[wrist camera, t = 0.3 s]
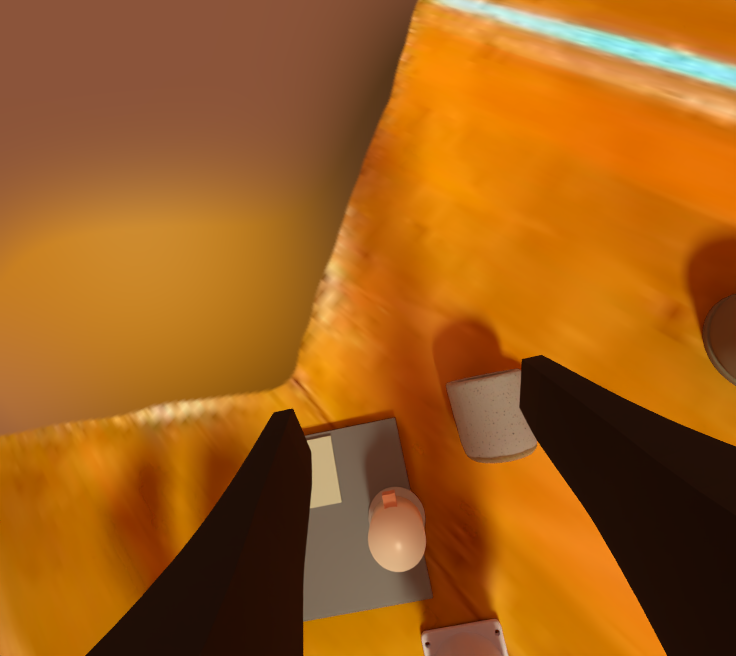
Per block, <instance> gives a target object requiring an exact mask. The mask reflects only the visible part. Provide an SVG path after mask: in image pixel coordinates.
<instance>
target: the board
mask: <svg viewBox="0 0 736 656" xmlns="http://www.w3.org/2000/svg"><path fill="white" fill-rule="evenodd" d="M305 438H306V440H307V442H308V445H309V447H310V449H311V454H312V492H311V503H310V513H309V524H308V534H307V544H306V555H305V566H304V586H303V621H309V620H314V619H320V618H325V617H331V616H336V615H342V614H348V613H353V612H359V611H364V610H370V609H375V608H381V607H387V606H392V605H398V604H403V603H409V602H414V601H420V600H425V599H431V598H433V595H432V590H431V585H430V580H429V576H428V571H427V566H426V561H425V557H424V555H423V557H422V559H421V560H420V561H419V563H418V564H417V565H416V566H414V567H413V568H411V569H410V570H407V571H404V572H393V571H390V570H387V569H385V568H383V567H382V566H381V565H379V564H378V563H377V561H376V560H375V559H374V557H373V556H372V554H371V552H370V549H369V544H368V532H369V527H370V522H371V517H372V514H373V511H374V509H375V507H376V506H377V505H378V504H379V503H380V502H381V501H382V500H383V499H382V492H385V491H390V490H395V494H396V496H400V497H404V498H406V499H408V500H410V501H411V502H412V503H413V504H414V505H415V506H416V507H417V508H418V510H419V512H420V514H421V517H422V521H423V526H424V527H425V512H424V508H423V506H422V503H421V502H420V500H419V499H418V497H417V496H416V495H415V494H414V493H413V492H411V491H410V486H409V481H408V477H407V472H406V467H405V463H404V458H403V453H402V448H401V444H400V439H399V434H398V430H397V425H396V420H395V417H394V418H389V419H384V420H379V421H374V422H369V423H364V424H359V425H354V426H350V427H345V428H340V429H335V430H330V431H325V432H320V433H315V434H310V435H305Z"/></svg>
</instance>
